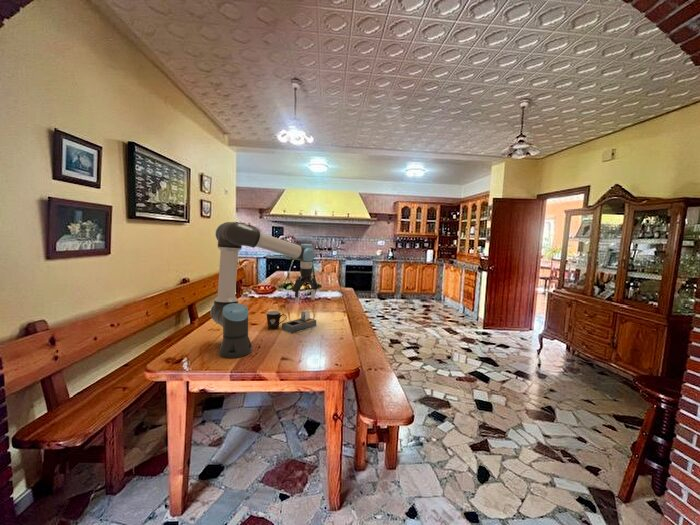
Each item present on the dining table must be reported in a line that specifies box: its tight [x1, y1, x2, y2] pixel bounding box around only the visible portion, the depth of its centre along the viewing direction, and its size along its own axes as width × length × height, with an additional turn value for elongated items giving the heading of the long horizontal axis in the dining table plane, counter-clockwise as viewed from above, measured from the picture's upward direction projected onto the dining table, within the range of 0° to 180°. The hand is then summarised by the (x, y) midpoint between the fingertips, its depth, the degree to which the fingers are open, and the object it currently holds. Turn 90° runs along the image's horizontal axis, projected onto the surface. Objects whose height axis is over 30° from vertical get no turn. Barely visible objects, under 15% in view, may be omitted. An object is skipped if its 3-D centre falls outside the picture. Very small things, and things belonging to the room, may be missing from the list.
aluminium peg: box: [300, 309, 311, 322], centre depth 189 cm, size 4×4×10 cm
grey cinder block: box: [281, 317, 317, 334], centre depth 186 cm, size 20×10×4 cm, turn 141°
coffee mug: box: [266, 310, 287, 331], centre depth 183 cm, size 12×9×10 cm
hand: (305, 300), depth 188 cm, fingers open, 13 cm apart
